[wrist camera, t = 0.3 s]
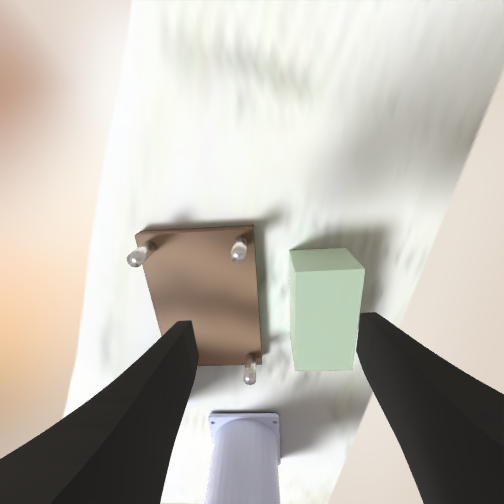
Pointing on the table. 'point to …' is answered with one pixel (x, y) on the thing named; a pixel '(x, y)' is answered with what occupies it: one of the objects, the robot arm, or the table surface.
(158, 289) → the chassis
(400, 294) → the table surface
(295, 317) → the pale green block
